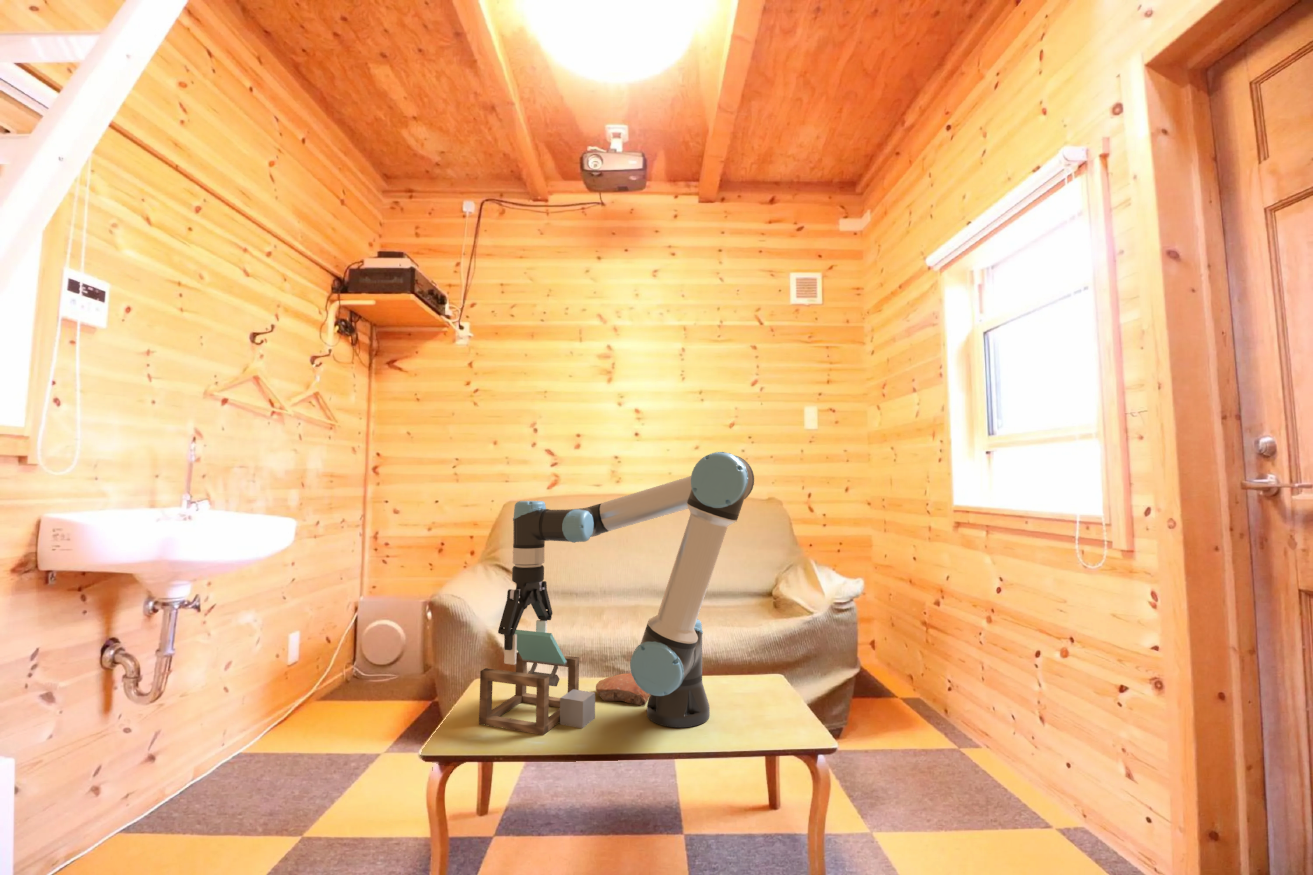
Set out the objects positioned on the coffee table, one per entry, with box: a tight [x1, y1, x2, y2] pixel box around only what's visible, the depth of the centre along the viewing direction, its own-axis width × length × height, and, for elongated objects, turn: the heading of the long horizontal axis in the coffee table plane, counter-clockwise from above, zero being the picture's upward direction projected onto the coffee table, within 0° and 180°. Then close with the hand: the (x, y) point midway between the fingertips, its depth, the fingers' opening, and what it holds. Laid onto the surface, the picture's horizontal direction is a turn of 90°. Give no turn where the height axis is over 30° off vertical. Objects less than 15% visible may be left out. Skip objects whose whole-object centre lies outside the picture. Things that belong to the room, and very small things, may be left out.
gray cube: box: [559, 689, 596, 729], centre depth 133 cm, size 6×6×6 cm
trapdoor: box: [515, 629, 567, 688], centre depth 139 cm, size 12×15×5 cm
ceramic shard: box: [595, 672, 650, 706], centre depth 151 cm, size 15×6×15 cm
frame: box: [478, 651, 580, 736], centre depth 137 cm, size 17×17×12 cm
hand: (526, 655), depth 135 cm, fingers open, 13 cm apart
